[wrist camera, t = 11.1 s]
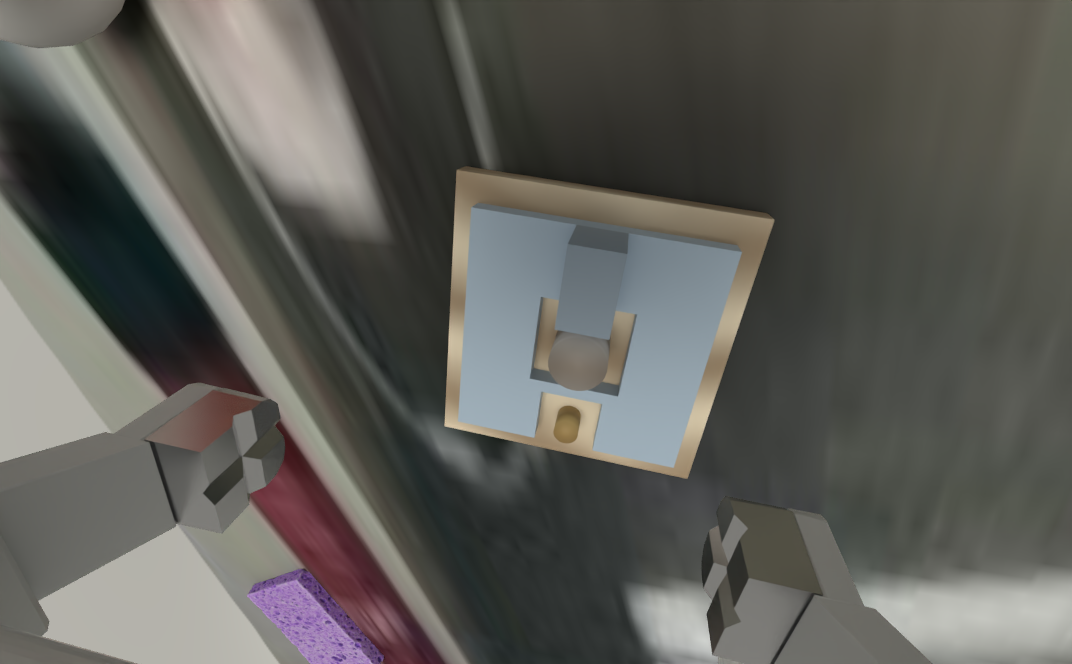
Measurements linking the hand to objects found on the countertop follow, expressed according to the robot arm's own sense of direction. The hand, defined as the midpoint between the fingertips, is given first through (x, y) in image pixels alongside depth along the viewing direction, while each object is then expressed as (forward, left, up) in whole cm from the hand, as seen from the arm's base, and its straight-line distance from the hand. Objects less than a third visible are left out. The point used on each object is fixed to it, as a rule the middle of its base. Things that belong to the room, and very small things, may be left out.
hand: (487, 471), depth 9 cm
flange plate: (+6, +1, -18) cm, 19 cm away
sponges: (+41, -18, -20) cm, 49 cm away
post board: (+6, +1, -20) cm, 21 cm away
